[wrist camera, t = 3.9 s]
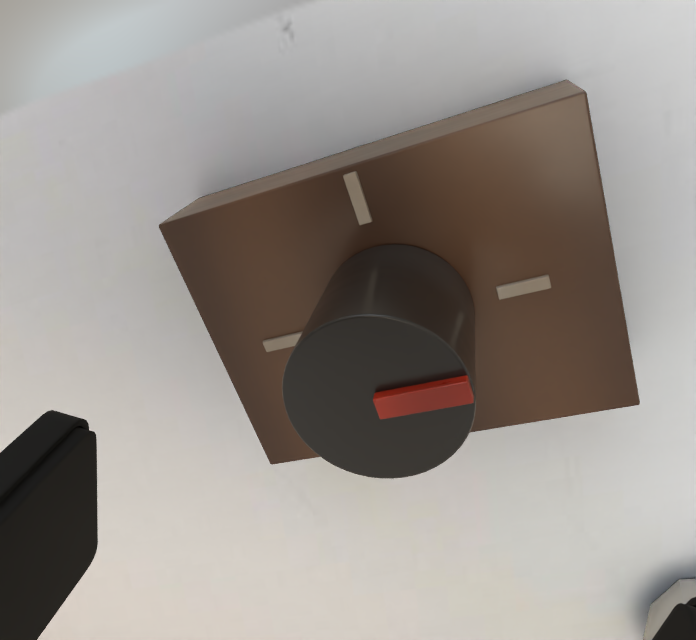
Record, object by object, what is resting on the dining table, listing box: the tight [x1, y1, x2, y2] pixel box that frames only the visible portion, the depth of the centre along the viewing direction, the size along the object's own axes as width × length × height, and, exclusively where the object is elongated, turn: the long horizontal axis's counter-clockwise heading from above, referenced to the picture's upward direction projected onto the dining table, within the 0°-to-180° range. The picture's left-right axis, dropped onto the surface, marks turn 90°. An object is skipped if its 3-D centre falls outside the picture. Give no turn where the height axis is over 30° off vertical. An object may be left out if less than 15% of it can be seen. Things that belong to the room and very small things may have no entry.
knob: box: [282, 244, 476, 478], centre depth 15 cm, size 4×4×5 cm
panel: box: [159, 80, 640, 464], centre depth 19 cm, size 12×9×3 cm
